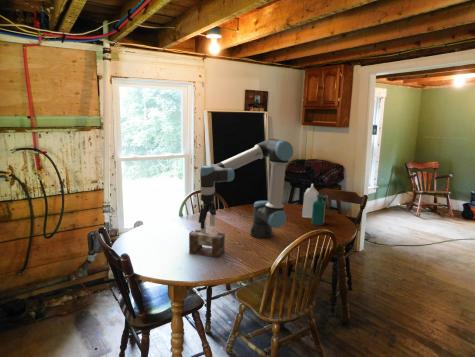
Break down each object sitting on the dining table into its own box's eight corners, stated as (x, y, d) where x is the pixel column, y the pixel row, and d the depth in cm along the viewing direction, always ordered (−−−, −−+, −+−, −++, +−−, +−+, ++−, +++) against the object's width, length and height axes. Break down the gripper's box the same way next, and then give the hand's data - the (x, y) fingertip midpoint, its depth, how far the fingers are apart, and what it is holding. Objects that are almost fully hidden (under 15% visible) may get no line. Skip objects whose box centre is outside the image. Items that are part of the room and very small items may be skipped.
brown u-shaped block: (224, 251, 195) (224, 233, 193) (218, 258, 186) (218, 239, 184) (196, 247, 200) (196, 229, 198) (189, 253, 191) (189, 235, 189)
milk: (316, 218, 261) (319, 186, 256) (301, 217, 265) (304, 185, 260) (317, 214, 272) (320, 183, 267) (303, 213, 276) (305, 182, 271)
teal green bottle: (311, 224, 247) (313, 195, 243) (313, 221, 255) (315, 193, 251) (324, 226, 244) (326, 197, 239) (326, 223, 251) (328, 194, 247)
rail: (224, 245, 191) (224, 235, 190) (221, 248, 187) (222, 237, 186) (192, 240, 197) (192, 230, 195) (189, 243, 193) (189, 233, 192)
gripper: (209, 188, 199) (210, 221, 203) (191, 198, 175) (192, 236, 180) (221, 189, 197) (221, 223, 201) (204, 199, 173) (205, 238, 178)
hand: (207, 229), depth 190 cm, fingers open, 13 cm apart
